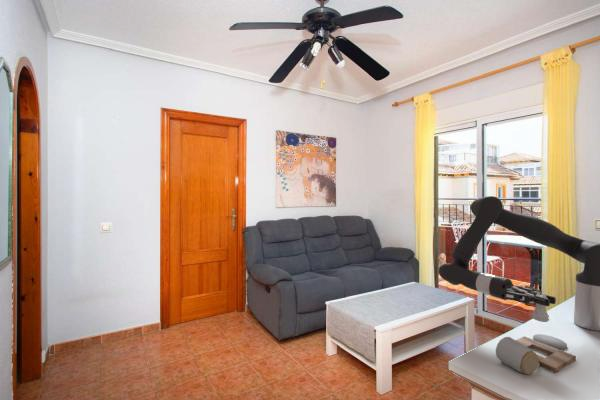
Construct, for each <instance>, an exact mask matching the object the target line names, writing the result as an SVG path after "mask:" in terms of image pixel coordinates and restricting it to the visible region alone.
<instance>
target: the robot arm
mask: <svg viewBox="0 0 600 400" xmlns="http://www.w3.org/2000/svg"><path fill="white" fill-rule="evenodd" d="M503 207H504V205H503V202H502V201H501V199H500V198H499V197H497V196H493V195H487V196H486V195H485V196H483V197H479V198H477V199H475V200H473V201H472V202H471V204H470V211H471V213H472V215H473V216H474V217H475V218H474V219H473V222H472V223H471V225H470V226H469V227H468V228H467V229H466V230H465V232H464V233H463V234H462V235H461V237H460V238H459V240H458V242H457V243H456V245H455V246H454V248H453V250H452V252H451V258H452V259H453V261H452V262H453V263H443V264H442V265H440V266H439V268H438V275H439V276H440V278H441V279H442V280H444V281H446V282H447V283H449V284H450V285H453V286H458V285H462V286H464V287H466V288H468V289H469V290H473V291H476V292H479V293H481V294H484V295H487V296H489V297H490V296H491V297H493V298H496V299H499V300H504V301H507V300H510V301H513V302H514V301H515V302H519V303H525V304H536V303H537V304H541V305H544V306H546V307H550V305H555V304H556V300H557V299H556V298H557V297H555V296H552V295H548V294H544V293H543V291H542V290H539V289H537V288H533V287H532V286H529V285H525V286H523V285H515V284H513V281H512V280H511V279H510V278H507V277H503V276H499V275H495V274H490V273H486V272H485V273H484V272H481V271H475V270H471V269H469V264H470V261H471V260H472V258H473V256H474V254H475V252H476V251H477V249H478V247H479V245H480V243H481V242H482V240H483V238H484V236H485V235H486V233H487V232H488V231H489V229H490V228H491V226H492V225H493V224H495V225H498V226H500V227H502V228H505V229H507V231H508V230H509V231H511V233H512V232H513V233H515V234H517V235H519V236H521V237H523V238H526V239H528V240H530V241H532V242H535V243H537V244H539V245H542V246H546V247H548V248H551V249H555V250H557V251H559V252H561V253H563V254H565V255H567V256H569V258H570V257H571V258H572V259H574V260H576V261H577V262H580V263H582V264H583V271H582V272H581V271H580V272H578V273H576V275H575V291H574V308H573V323H574V324H575V325H576V326H578V327H581V328H584V329H588V330H591V331H598V332H600V242H599V243H598V242H594V241H589V240H585V239H581V238H578V237H575V236H573V235H570V234H567V233H566V232H564V231H563V230H561V229H560V228H559V227H557V226H556V225H554V224H552V223H551V222H548V221H546V220H543V219H541V218H539V217H536V216H533V215H529V214H525V213H520V212H515V211H511V210H508V209H506V208H503ZM538 293H540V295H542V294H544V295H546V297H547V298H543V297H539V296H536V294H538Z"/></svg>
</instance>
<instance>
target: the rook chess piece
mask: <svg viewBox="0 0 600 400" xmlns="http://www.w3.org/2000/svg"><path fill="white" fill-rule="evenodd" d="M546 295H547V294H545V295H544V293H542V295H540V293H538V294H536V296H539V297H543V298H547V297H546ZM531 318H532V319H533V320H535V321H538V322H541V323H542V322H543V323H548V322H549V321H550V316H549V314H548V311H547V306H544V305H541V304H537V303H535V308H534V309H533V311H532V312H531Z"/></svg>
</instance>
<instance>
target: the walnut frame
mask: <svg viewBox="0 0 600 400" xmlns="http://www.w3.org/2000/svg"><path fill="white" fill-rule="evenodd" d="M515 340H516V341H517V342H519V343H521V344H522V345H524V346H526V347H528V348H529V349H531V350H535V351H538V352H540V353H542V354H545V355H547V356H542V355H540V354H537V356H538V359H539V368H540V367H541V368H542V369H545V370H547V371H550V372H552V373H554V374H556V373H558V372H559V371H561V370H563V369H564V368H566V367H568V366H569V365H571V364H572V363H574V362H576V361H577V356H576V355H574V354H571V353H569V352H567V351H564V350H559V349H556V348H554V347H551V346H548V345H546V344H543V343H541V342H538V341H535V340H533V338H530V337H527V336H525V335H524V336H521V337H519V338H517V339H515Z"/></svg>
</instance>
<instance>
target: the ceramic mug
mask: <svg viewBox="0 0 600 400" xmlns="http://www.w3.org/2000/svg"><path fill="white" fill-rule="evenodd" d="M516 340H517V339H514V338H512V337H510V336H505V337H503V338H501V339H499V341H498V343H497V345H496V349H495V355H496V358H497V359H498V360H499V361H500V362H502V363H504V364H505V365H507V366H509V367H511V368H512V369H514V370H516V371H518V373H522V374H524V375H532V374H534V372H535V371H536V370H537V369H539V368H540V366H539V359H538V356H537V355H538V354H537V353H536V352H535V351H533V349H532V348H531V349H529V348H528V347H526V346H524V345H522V344H521V343H519V342H517V341H516Z"/></svg>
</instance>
